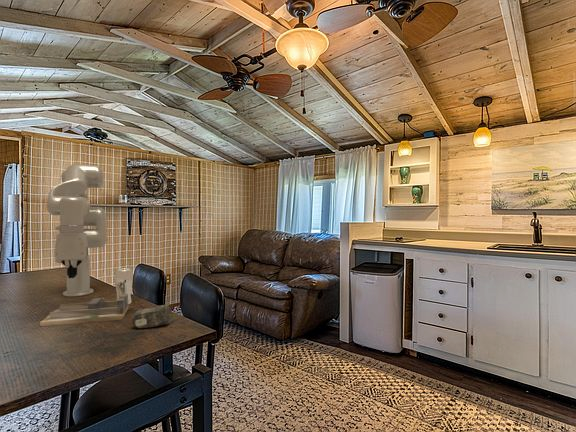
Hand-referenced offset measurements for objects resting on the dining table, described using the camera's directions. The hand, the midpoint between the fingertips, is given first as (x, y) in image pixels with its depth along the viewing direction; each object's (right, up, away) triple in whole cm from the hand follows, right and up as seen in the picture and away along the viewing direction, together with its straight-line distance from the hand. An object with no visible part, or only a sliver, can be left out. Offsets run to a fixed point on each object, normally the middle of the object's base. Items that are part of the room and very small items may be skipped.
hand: (72, 277), depth 126 cm
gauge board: (+5, -15, +1) cm, 16 cm away
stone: (+34, -16, -8) cm, 39 cm away
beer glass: (+10, -15, +19) cm, 26 cm away
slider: (+9, -14, 0) cm, 16 cm away
